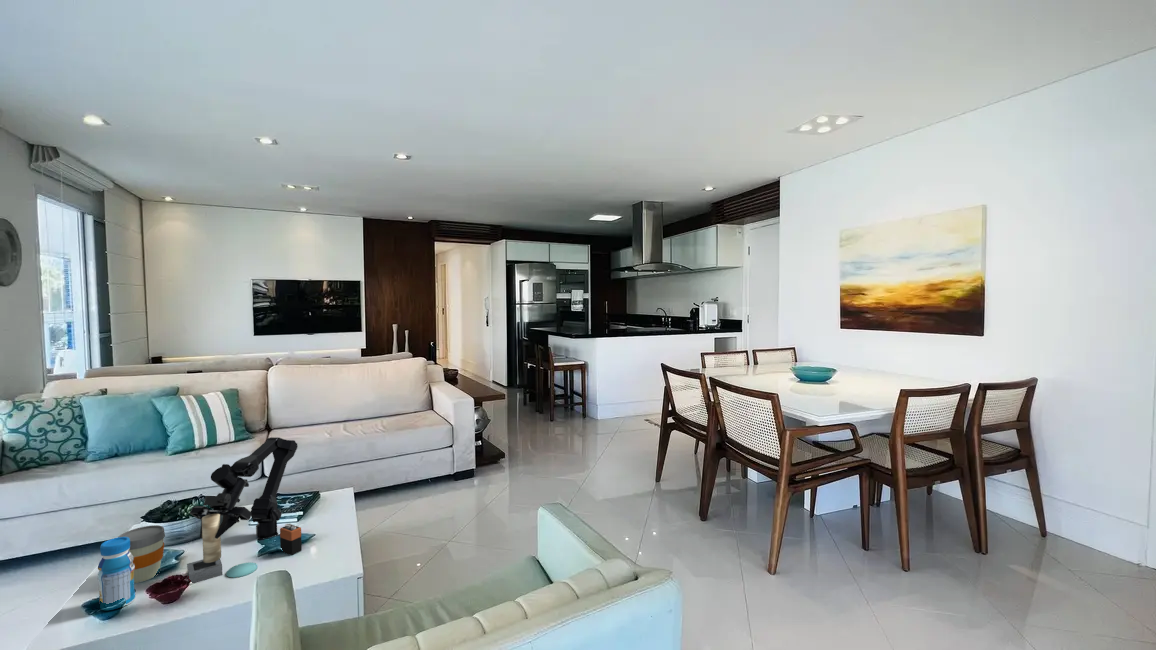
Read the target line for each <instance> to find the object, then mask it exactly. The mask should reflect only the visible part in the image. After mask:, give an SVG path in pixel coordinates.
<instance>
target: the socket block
mask: <svg viewBox="0 0 1156 650" xmlns="http://www.w3.org/2000/svg"><path fill="white" fill-rule="evenodd" d="M186 574H187V577H188V576H189V579H190V580H191V582H192V583H194V584H197V583H201V582H203V581H207V580H210V579H214V578H217V577H220V576H222V575H223V564H222V560H221V558H220V559H219V560H217V561H214V562H210V563H205V562H203V559H200V560H195V561H192V562H189V563H186Z"/></svg>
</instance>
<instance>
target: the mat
mask: <svg viewBox="0 0 1156 650" xmlns="http://www.w3.org/2000/svg"><path fill="white" fill-rule="evenodd" d="M257 569H258V564H257V563H256V562H249V561H248V562H243V563H239V564H237V565H233V566H232V567H230V568H229V569H228V570H227V571H226V573H225V574H226V577H227V576H228V577H227V578H229V577H233V578H232V579H236V578H235V577H238V578H242V577H246V576H249V575H250V574H252V573H254V572H256V571H257Z"/></svg>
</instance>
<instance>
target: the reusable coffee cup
mask: <svg viewBox="0 0 1156 650" xmlns="http://www.w3.org/2000/svg"><path fill="white" fill-rule="evenodd" d="M118 537H129V538H130V549H129V550H128V551H129V552H131V554H132V555H133V557H134V560H133V563H134V565H135V569H134V584H137V583H143V582H144V581H148V580H151V579H152V578H154V576H155V575H156V573H157V571H158V569H159V568H160V569H161V563H162V559H163V558H164V551H165V542H164V539H165V537H166V531H165V528H164V526H163V525H152V524H151V525H145V526H141V527H137V528H133V529H130V530H128V531H125V532H123V533H121V534H120V535H119V536H118ZM156 576H157V575H156ZM156 576H155V577H156Z"/></svg>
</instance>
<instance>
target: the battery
mask: <svg viewBox="0 0 1156 650" xmlns="http://www.w3.org/2000/svg"><path fill="white" fill-rule="evenodd" d="M279 536H280V537H279V539H280V540H279V544H280V545H279V547H281V548H282V550H283V552H282V553H284V552H285V554H286V553H287V555H290V556H294V555H295V554H297V553H299V552H302V545H303V544H302V527H300V526H297V525H294V524H292V523H285V524H284V526H281V527H280V528H279Z"/></svg>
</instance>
